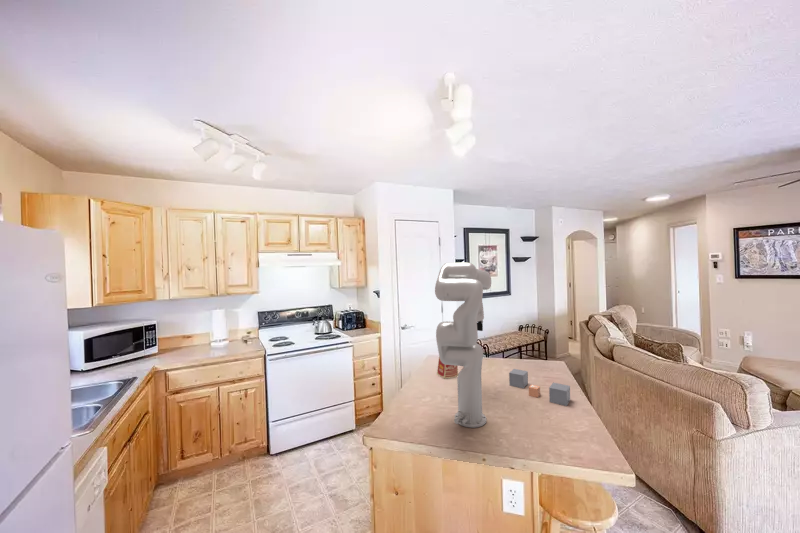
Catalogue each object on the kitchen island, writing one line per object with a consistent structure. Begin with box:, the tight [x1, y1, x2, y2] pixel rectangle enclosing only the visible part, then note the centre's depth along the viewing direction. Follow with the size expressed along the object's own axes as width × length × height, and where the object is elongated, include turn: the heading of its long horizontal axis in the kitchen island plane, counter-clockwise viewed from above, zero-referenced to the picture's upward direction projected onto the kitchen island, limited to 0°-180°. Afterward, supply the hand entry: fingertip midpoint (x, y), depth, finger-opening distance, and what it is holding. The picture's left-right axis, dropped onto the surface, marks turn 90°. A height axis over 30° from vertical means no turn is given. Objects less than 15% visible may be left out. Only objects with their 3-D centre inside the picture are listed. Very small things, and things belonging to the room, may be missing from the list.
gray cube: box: [508, 368, 529, 390], centre depth 163 cm, size 7×7×6 cm
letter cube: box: [528, 384, 541, 398], centre depth 150 cm, size 4×4×4 cm
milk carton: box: [436, 356, 459, 380], centre depth 178 cm, size 9×9×20 cm
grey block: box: [548, 382, 571, 407], centre depth 143 cm, size 7×7×6 cm
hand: (475, 332), depth 159 cm, fingers open, 9 cm apart
